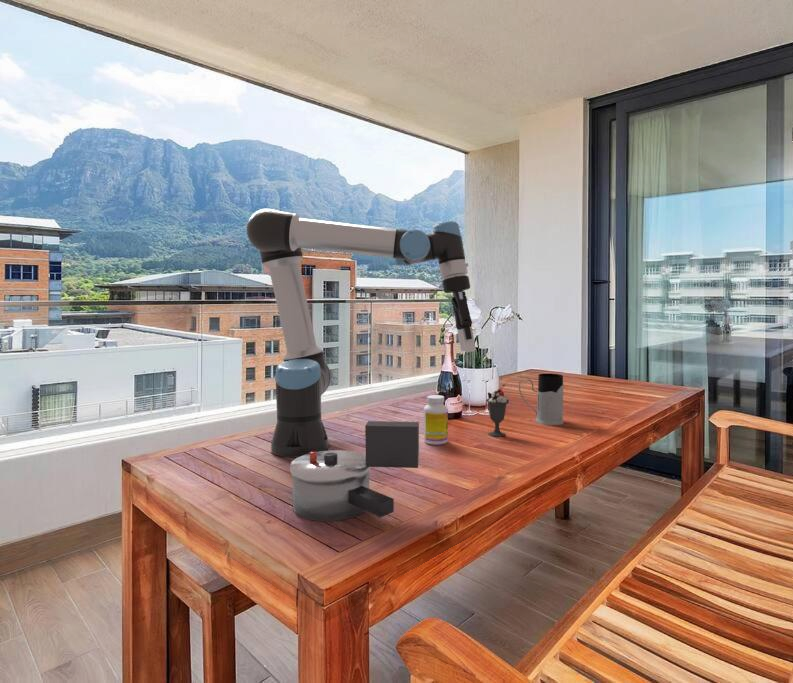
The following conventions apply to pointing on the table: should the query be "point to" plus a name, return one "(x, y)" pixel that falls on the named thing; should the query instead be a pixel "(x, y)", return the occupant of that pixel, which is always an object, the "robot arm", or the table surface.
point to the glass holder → (548, 399)
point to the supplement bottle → (435, 421)
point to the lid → (383, 449)
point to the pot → (338, 500)
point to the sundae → (497, 410)
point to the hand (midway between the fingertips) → (468, 351)
